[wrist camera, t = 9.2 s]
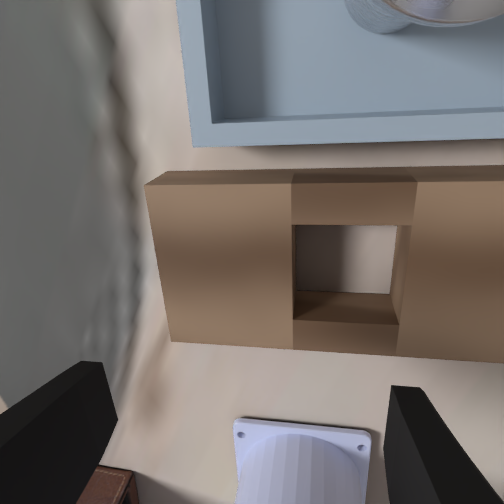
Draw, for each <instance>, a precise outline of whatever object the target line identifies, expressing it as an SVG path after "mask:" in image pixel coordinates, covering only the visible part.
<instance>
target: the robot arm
mask: <svg viewBox="0 0 504 504" xmlns="http://www.w3.org/2000/svg"><path fill="white" fill-rule="evenodd" d="M117 421H118V418H117V414H116V411H115V407H114V403H113V400H112V396H111V392H110V389H109V385H108V382H107V378H106V374H105V371H104V367H103V364H102V362H90V361H80V362H79V363H77V364H75V365H74V366H72V367H70V368H69V369H67V370H66V371H64V372H63V373H61V374H60V375H58V376H57V377H55V378H54V379H52V380H51V381H49V382H48V383H46V384H45V385H43V386H42V387H40V388H39V389H37V390H36V391H34V392H33V393H31V394H30V395H28V396H27V397H25V398H24V399H22V400H21V401H20V402H18V403H17V404H15V405H14V406H12V407H11V408H9V409H8V410H6V411H5V412H3V413H2V414H0V504H76V503H77V501H78V499H79V497H80V496H81V494H82V492H83V491H84V489H85V487H86V485H87V484H88V482H89V480H90V478H91V476H92V475H93V473H94V471H95V469H96V468H97V466H98V464H99V462H100V460H101V458H102V456H103V454H104V452H105V449H106V447H107V445H108V443H109V440H110V438H111V436H112V433H113V431H114V428H115V426H116V423H117ZM233 434H234V443H235V453H236V462H237V472H238V482H239V484H238V489H237V494H236V499H235V504H365V498H366V489H367V480H368V471H369V462H370V452H371V443H372V441H371V435H370V434H369V433H368V432H367V431H364V430H355V429H345V428H335V427H325V426H315V425H305V424H295V423H285V422H275V421H265V420H255V419H245V418H238V419H236V420H235V421H234V424H233ZM383 450H384V459H385V468H386V477H387V486H388V494H389V500H390V504H504V502H503V501H502V499H501V498H500V497H499V495H498V494H497V493H496V492H495V490H494V489H493V488H492V487H491V485H490V484H489V483H488V481H487V480H486V479H485V477H484V476H483V475H482V473H481V472H480V471H479V469H478V468H477V467H476V465H475V464H474V463H473V462H472V460H471V459H470V458H469V456H468V455H467V453H466V452H465V451H464V449H463V448H462V447H461V445H460V444H459V442H458V441H457V440H456V438H455V437H454V435H453V434H452V433H451V431H450V430H449V428H448V427H447V425H446V424H445V422H444V421H443V420H442V418H441V417H440V415H439V414H438V412H437V411H436V409H435V408H434V406H433V405H432V403H431V402H430V400H429V399H428V397H427V395H426V394H425V392H424V391H423V390H422V389H421V388H420V387H407V386H395V385H391V392H390V400H389V408H388V415H387V423H386V431H385V439H384V447H383Z"/></svg>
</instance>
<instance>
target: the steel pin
mask: <svg viewBox="0 0 504 504" xmlns="http://www.w3.org/2000/svg"><path fill="white" fill-rule="evenodd" d="M344 1H345V5H346V8H347V10H348V12H349V14H350V16H351V17H352V19H353V20H354V21H355V22H356V23H357V24H358V25H359V26H360V27H362V28H363V29H365V30H367V31H369V32H373V33H378V34H387V33H393V32H396V31H399V30H401V29H403V28H405V27H407V26H408V25H410V24H412V23H414V24H418V25H423V26H430V27H457V26H464V25H471V24H475V23H478V22H482V21H485V20H489V19H492V18H494V17H497V16H500V15H502V14H504V0H344Z"/></svg>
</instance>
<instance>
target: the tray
mask: <svg viewBox="0 0 504 504" xmlns="http://www.w3.org/2000/svg"><path fill="white" fill-rule="evenodd" d="M176 6H177V15H178V23H179V32H180V41H181V49H182V58H183V67H184V75H185V84H186V92H187V101H188V110H189V118H190V127H191V135H192V144H193V147H225V146H259V145H292V144H326V143H360V142H394V141H428V140H461V139H495V138H504V14H502V15H500V16H497V17H494V18H492V19H489V20H485V21H482V22H478V23H475V24H471V25H464V26H457V27H430V26H423V25H418V24H414V23H412V24H410V25H408V26H407V27H405V28H403V29H401V30H399V31H396V32H393V33H387V34H378V33H373V32H369V31H367V30H365V29H363V28H362V27H360V26H359V25H358V24H357V23H356V22H355V21H354V20H353V19H352V17H351V16H350V14H349V12H348V10H347V8H346V5H345V1H344V0H176Z"/></svg>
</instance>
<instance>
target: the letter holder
mask: <svg viewBox="0 0 504 504" xmlns="http://www.w3.org/2000/svg"><path fill="white" fill-rule="evenodd" d="M76 504H139V501H138V494H137V488H136V483H135V478H134V473H133V471H126V470H121V469H116V468H111V467H105V466H100V465H98V466H97V468H96V469H95V471H94V473H93V475H92V476H91V478H90V480H89V482H88V484H87V485H86V487H85V489H84V491H83V492H82V494H81V496H80V497H79V499H78V501H77V503H76Z"/></svg>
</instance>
